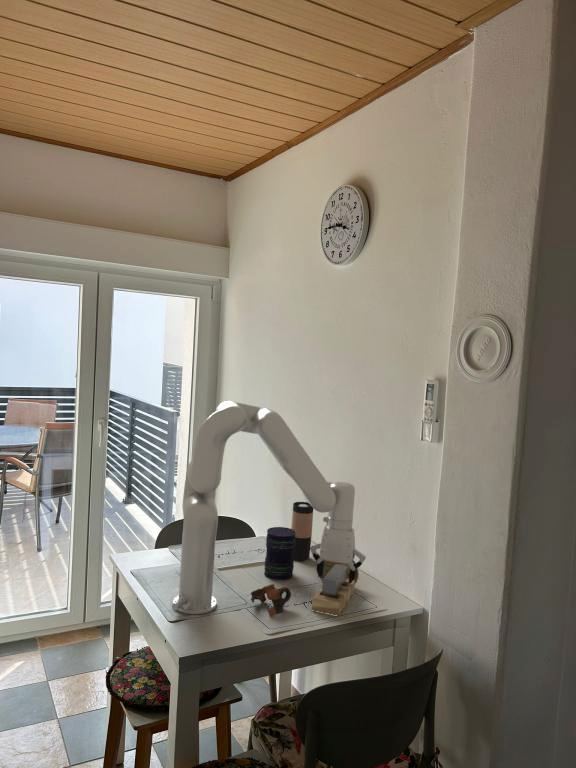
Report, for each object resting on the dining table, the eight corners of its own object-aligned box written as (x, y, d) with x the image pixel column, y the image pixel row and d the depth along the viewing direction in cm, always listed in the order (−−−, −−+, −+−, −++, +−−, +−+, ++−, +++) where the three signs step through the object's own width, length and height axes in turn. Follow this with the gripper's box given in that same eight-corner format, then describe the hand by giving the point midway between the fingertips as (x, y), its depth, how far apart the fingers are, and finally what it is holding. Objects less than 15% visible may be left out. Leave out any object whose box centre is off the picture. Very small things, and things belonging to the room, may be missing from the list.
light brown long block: (338, 617, 169) (339, 603, 169) (311, 611, 172) (312, 597, 171) (354, 592, 188) (355, 579, 187) (330, 587, 190) (331, 574, 190)
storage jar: (282, 583, 191) (285, 538, 190) (257, 575, 196) (260, 531, 195) (298, 574, 199) (301, 531, 198) (275, 567, 204) (277, 525, 204)
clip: (333, 611, 172) (336, 581, 172) (320, 608, 174) (323, 579, 173) (345, 594, 186) (347, 566, 185) (333, 591, 187) (335, 563, 186)
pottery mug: (261, 621, 164) (252, 592, 166) (253, 622, 172) (244, 594, 175) (299, 605, 169) (290, 577, 171) (289, 607, 177) (280, 579, 179)
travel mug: (286, 559, 213) (290, 505, 211) (292, 553, 220) (296, 500, 219) (306, 563, 210) (310, 508, 209) (312, 556, 218) (316, 503, 217)
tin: (315, 578, 197) (316, 553, 197) (320, 575, 200) (321, 551, 199) (354, 591, 188) (356, 565, 188) (358, 588, 191) (360, 563, 191)
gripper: (309, 521, 178) (305, 577, 179) (365, 531, 172) (360, 588, 173) (316, 516, 185) (312, 569, 186) (370, 525, 179) (366, 580, 180)
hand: (335, 578), depth 179 cm, fingers open, 9 cm apart
